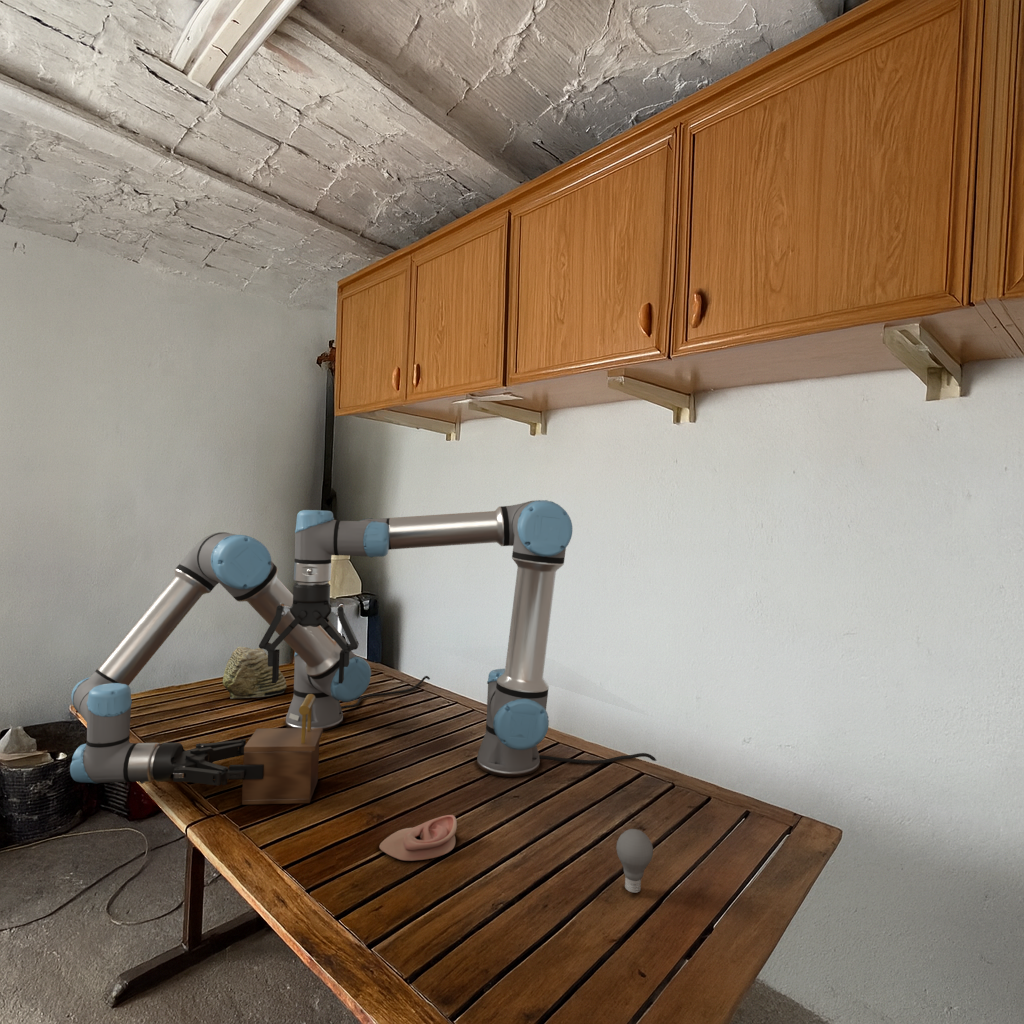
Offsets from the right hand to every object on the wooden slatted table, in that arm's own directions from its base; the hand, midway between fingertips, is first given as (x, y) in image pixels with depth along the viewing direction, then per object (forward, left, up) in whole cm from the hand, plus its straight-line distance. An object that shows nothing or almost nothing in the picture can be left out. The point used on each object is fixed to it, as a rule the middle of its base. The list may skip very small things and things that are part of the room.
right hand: (308, 681), depth 135 cm
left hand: (+7, -2, -17) cm, 18 cm away
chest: (+4, -1, -24) cm, 24 cm away
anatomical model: (-18, +28, -24) cm, 41 cm away
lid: (+4, -1, -13) cm, 14 cm away
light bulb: (-49, +52, -24) cm, 75 cm away
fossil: (+10, -71, -24) cm, 76 cm away
